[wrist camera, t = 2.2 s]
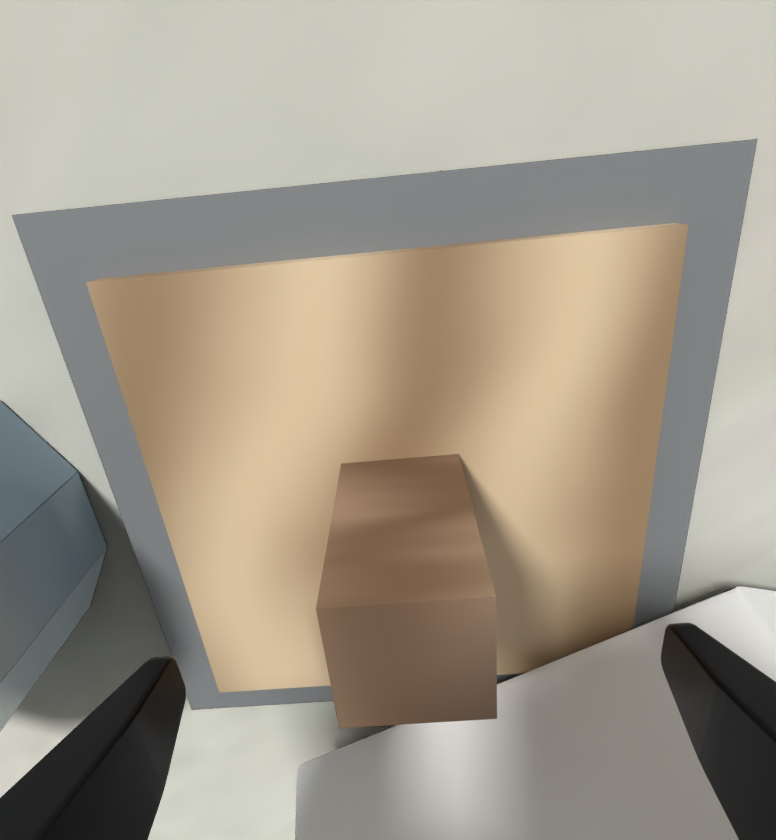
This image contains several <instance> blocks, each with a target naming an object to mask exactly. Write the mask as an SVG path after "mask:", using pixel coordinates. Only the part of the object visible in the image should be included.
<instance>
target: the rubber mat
mask: <svg viewBox="0 0 776 840" xmlns="http://www.w3.org/2000/svg"><path fill="white" fill-rule="evenodd" d="M756 144H757V139H752V140H743V141H733V142H723V143H713V144H703V145H694V146H684V147H674V148H664V149H654V150H645V151H635V152H625V153H615V154H605V155H596V156H586V157H576V158H566V159H556V160H546V161H537V162H527V163H517V164H507V165H497V166H488V167H478V168H468V169H458V170H448V171H439V172H429V173H419V174H409V175H399V176H390V177H380V178H370V179H360V180H350V181H341V182H331V183H321V184H311V185H301V186H292V187H282V188H272V189H262V190H252V191H242V192H233V193H223V194H213V195H203V196H193V197H184V198H174V199H164V200H154V201H144V202H135V203H125V204H115V205H105V206H95V207H86V208H76V209H66V210H56V211H46V212H37V213H27V214H17V215H12V217H13V220H14V223H15V226H16V228H17V231H18V234H19V237H20V239H21V242H22V245H23V248H24V250H25V253H26V256H27V259H28V261H29V264H30V267H31V270H32V272H33V275H34V278H35V281H36V283H37V286H38V289H39V292H40V294H41V297H42V300H43V303H44V305H45V308H46V311H47V314H48V316H49V319H50V322H51V325H52V327H53V330H54V333H55V336H56V338H57V341H58V344H59V347H60V349H61V352H62V355H63V358H64V360H65V363H66V366H67V369H68V371H69V374H70V377H71V380H72V382H73V385H74V388H75V391H76V393H77V396H78V399H79V402H80V404H81V407H82V410H83V413H84V415H85V418H86V421H87V424H88V426H89V429H90V432H91V435H92V437H93V440H94V443H95V446H96V448H97V451H98V454H99V457H100V459H101V462H102V465H103V468H104V470H105V473H106V476H107V479H108V481H109V484H110V487H111V490H112V492H113V495H114V498H115V501H116V503H117V506H118V509H119V512H120V514H121V517H122V520H123V523H124V525H125V528H126V531H127V534H128V536H129V539H130V542H131V545H132V547H133V550H134V553H135V556H136V558H137V561H138V564H139V567H140V569H141V572H142V575H143V578H144V580H145V583H146V586H147V589H148V591H149V594H150V597H151V600H152V602H153V605H154V608H155V611H156V613H157V616H158V619H159V622H160V624H161V627H162V630H163V633H164V635H165V638H166V641H167V644H168V646H169V649H170V652H171V655H172V657H174V658H175V659H176V661H177V664H178V667H179V669H180V672H181V675H182V678H183V681H184V683H185V687H186V696H187V698H188V701H189V704H190V707H191V709H192V710H197V709H213V708H229V707H245V706H261V705H277V704H294V703H310V702H326V701H334V699H333V694H332V689H331V685H330V686H315V687H299V688H283V689H267V690H252V691H236V692H220V693H219V690H218V687H217V684H216V681H215V678H214V675H213V672H212V669H211V666H210V662H209V659H208V656H207V653H206V650H205V647H204V644H203V641H202V638H201V635H200V632H199V629H198V626H197V623H196V619H195V616H194V613H193V610H192V607H191V604H190V601H189V598H188V595H187V592H186V589H185V586H184V583H183V579H182V576H181V573H180V570H179V567H178V564H177V561H176V558H175V555H174V552H173V549H172V546H171V543H170V539H169V536H168V533H167V530H166V527H165V524H164V521H163V518H162V515H161V512H160V509H159V506H158V503H157V499H156V496H155V493H154V490H153V487H152V484H151V481H150V478H149V475H148V472H147V469H146V466H145V463H144V459H143V456H142V453H141V450H140V447H139V444H138V441H137V438H136V435H135V432H134V429H133V426H132V423H131V420H130V416H129V413H128V410H127V407H126V404H125V401H124V398H123V395H122V392H121V389H120V386H119V383H118V380H117V376H116V373H115V370H114V367H113V364H112V361H111V358H110V355H109V352H108V349H107V346H106V343H105V340H104V336H103V333H102V330H101V327H100V324H99V321H98V318H97V315H96V312H95V309H94V306H93V303H92V300H91V296H90V293H89V290H88V287H87V284H86V283H87V282H90V281H93V280H96V279H99V278H109V277H119V276H129V275H140V274H150V273H160V272H171V271H181V270H192V269H202V268H212V267H223V266H233V265H243V264H254V263H264V262H275V261H285V260H295V259H306V258H316V257H326V256H337V255H347V254H358V253H368V252H378V251H389V250H399V249H410V248H420V247H430V246H441V245H451V244H461V243H472V242H482V241H493V240H503V239H513V238H524V237H534V236H544V235H555V234H565V233H576V232H586V231H596V230H607V229H617V228H627V227H638V226H648V225H659V224H669V223H678V224H686V225H688V233H687V240H686V247H685V254H684V262H683V269H682V276H681V284H680V291H679V298H678V305H677V313H676V320H675V327H674V335H673V342H672V349H671V356H670V364H669V371H668V378H667V386H666V393H665V400H664V407H663V415H662V422H661V429H660V437H659V444H658V451H657V458H656V466H655V473H654V480H653V488H652V495H651V502H650V509H649V517H648V524H647V531H646V539H645V546H644V553H643V560H642V568H641V575H640V582H639V590H638V597H637V604H636V611H635V619H634V626H633V629H634V628H637V627H639V626H642V625H644V624H647V623H649V622H652V621H654V620H657V619H659V618H661V617H664V616H666V615H669V614H671V613H674V607H675V602H676V596H677V590H678V585H679V579H680V573H681V568H682V562H683V556H684V551H685V545H686V539H687V534H688V528H689V522H690V517H691V511H692V506H693V500H694V494H695V489H696V483H697V477H698V472H699V466H700V460H701V455H702V449H703V443H704V438H705V432H706V427H707V421H708V415H709V410H710V404H711V398H712V393H713V387H714V381H715V376H716V370H717V364H718V359H719V353H720V348H721V342H722V336H723V331H724V325H725V319H726V314H727V308H728V302H729V297H730V291H731V285H732V280H733V274H734V268H735V263H736V257H737V252H738V246H739V240H740V235H741V229H742V223H743V218H744V212H745V206H746V201H747V195H748V189H749V184H750V178H751V173H752V167H753V161H754V156H755V150H756ZM521 674H524V673H519V674H503V675H497V684H499V683H502V682H504V681H507V680H509V679H512V678H514V677H517V676H519V675H521Z"/></svg>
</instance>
